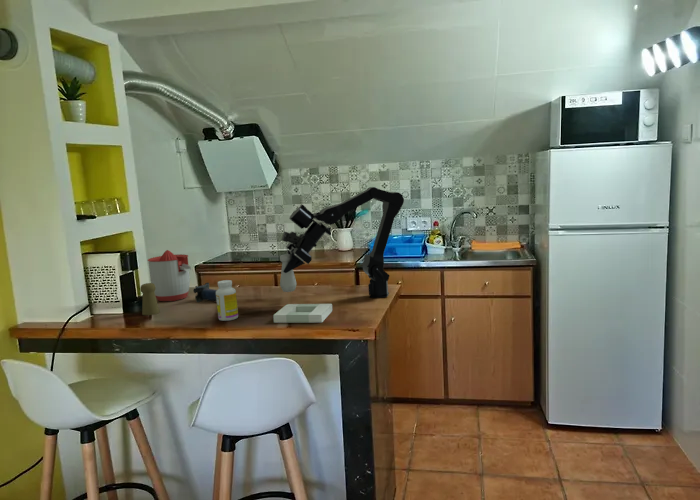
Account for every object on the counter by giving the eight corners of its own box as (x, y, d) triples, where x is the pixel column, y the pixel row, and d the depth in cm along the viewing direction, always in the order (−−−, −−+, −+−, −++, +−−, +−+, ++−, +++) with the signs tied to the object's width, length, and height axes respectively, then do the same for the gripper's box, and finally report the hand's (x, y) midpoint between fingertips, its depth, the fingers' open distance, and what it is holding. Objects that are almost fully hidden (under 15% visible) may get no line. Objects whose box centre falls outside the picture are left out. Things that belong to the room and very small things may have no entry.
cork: (143, 316, 196) (139, 286, 195) (141, 312, 202) (137, 283, 200) (160, 313, 199) (157, 283, 197) (158, 310, 204) (154, 281, 203)
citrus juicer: (179, 304, 212) (173, 253, 209) (143, 302, 218) (137, 253, 215) (204, 294, 226) (199, 246, 223) (170, 293, 233) (164, 247, 230)
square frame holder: (332, 310, 187) (331, 303, 187) (321, 322, 173) (321, 314, 173) (287, 311, 190) (287, 304, 190) (273, 322, 177) (273, 315, 176)
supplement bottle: (242, 316, 187) (238, 279, 185) (231, 321, 181) (228, 283, 179) (225, 315, 190) (221, 279, 188) (214, 321, 183) (210, 283, 182)
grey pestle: (289, 293, 190) (285, 256, 189) (277, 291, 194) (273, 255, 192) (300, 289, 195) (297, 253, 193) (288, 288, 199) (285, 252, 197)
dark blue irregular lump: (195, 305, 214) (220, 309, 209) (191, 287, 211) (216, 290, 206) (210, 296, 221) (234, 299, 216) (206, 278, 219) (231, 281, 214)
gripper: (289, 220, 201) (262, 254, 200) (299, 224, 183) (269, 261, 182) (312, 239, 204) (285, 272, 203) (323, 245, 187) (294, 281, 185)
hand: (283, 271), depth 193 cm, fingers closed on grey pestle, 3 cm apart
